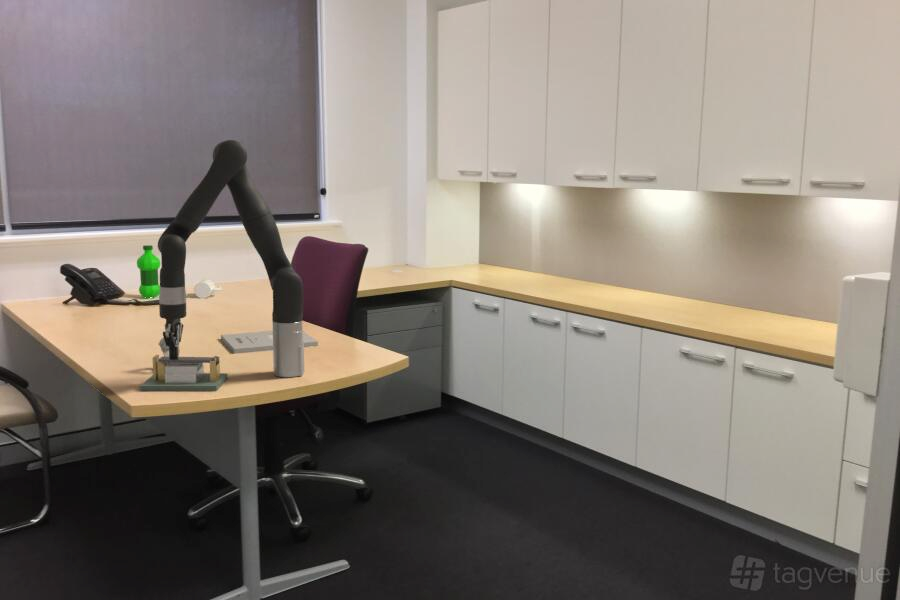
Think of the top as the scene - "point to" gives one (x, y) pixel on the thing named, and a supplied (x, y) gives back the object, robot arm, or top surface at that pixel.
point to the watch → (165, 348)
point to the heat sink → (183, 373)
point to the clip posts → (160, 366)
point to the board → (201, 385)
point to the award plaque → (257, 341)
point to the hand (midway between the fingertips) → (173, 358)
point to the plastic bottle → (149, 273)
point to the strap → (189, 359)
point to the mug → (205, 288)
